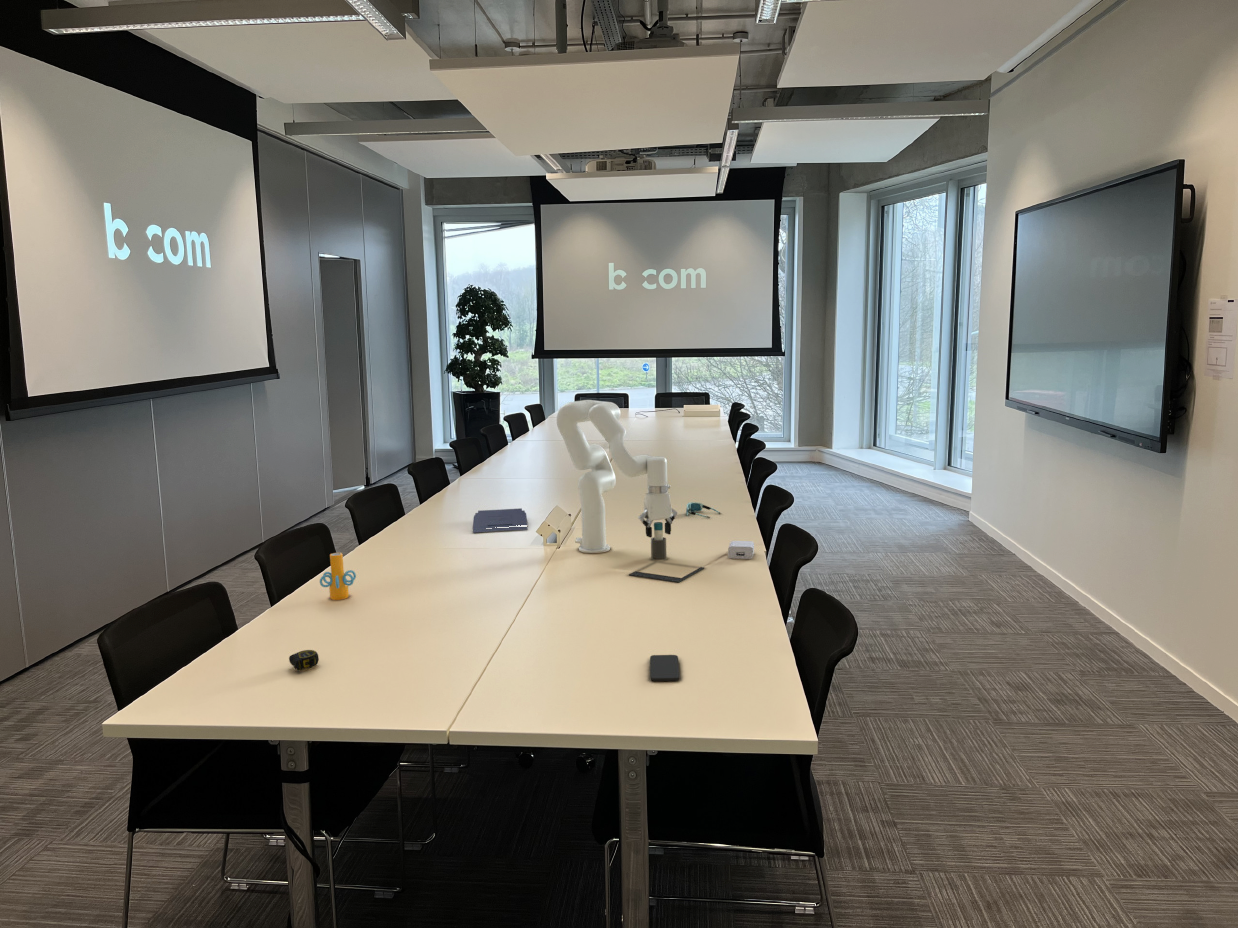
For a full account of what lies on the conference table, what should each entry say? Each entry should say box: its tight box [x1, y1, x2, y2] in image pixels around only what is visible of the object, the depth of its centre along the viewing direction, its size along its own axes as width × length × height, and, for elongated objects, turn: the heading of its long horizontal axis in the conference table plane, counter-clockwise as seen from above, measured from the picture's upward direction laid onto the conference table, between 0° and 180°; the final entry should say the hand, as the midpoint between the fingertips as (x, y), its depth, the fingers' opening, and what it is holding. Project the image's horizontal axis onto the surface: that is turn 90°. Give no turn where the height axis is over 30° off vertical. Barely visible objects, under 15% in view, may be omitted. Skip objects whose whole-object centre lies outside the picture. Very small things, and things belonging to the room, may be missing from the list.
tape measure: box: [288, 649, 320, 672], centre depth 226 cm, size 7×7×4 cm
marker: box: [653, 521, 664, 540], centre depth 322 cm, size 3×3×14 cm
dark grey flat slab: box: [472, 507, 529, 534], centre depth 389 cm, size 24×30×4 cm
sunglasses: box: [685, 501, 722, 519], centre depth 399 cm, size 14×15×5 cm
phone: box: [649, 654, 681, 682], centre depth 218 cm, size 7×1×15 cm
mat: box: [628, 566, 705, 584], centre depth 306 cm, size 20×20×1 cm
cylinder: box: [319, 552, 357, 601], centre depth 285 cm, size 12×10×15 cm
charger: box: [727, 540, 755, 560], centre depth 328 cm, size 5×9×15 cm
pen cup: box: [650, 536, 668, 561], centre depth 323 cm, size 6×6×8 cm
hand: (658, 534), depth 322 cm, fingers open, 7 cm apart
